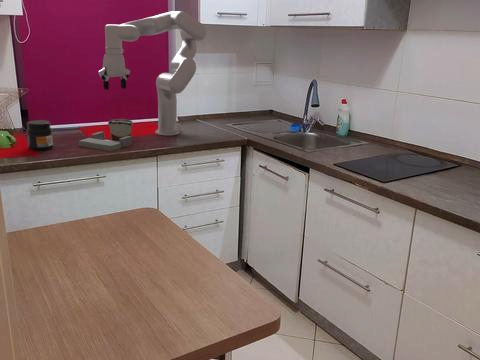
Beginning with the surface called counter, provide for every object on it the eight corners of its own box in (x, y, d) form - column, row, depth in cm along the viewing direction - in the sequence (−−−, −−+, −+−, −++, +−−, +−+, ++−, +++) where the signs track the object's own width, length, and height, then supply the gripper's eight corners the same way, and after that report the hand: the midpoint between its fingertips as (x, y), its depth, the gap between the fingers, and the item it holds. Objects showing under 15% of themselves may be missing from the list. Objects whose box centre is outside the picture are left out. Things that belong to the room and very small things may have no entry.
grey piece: (101, 139, 235) (101, 131, 234) (132, 144, 228) (131, 136, 227) (79, 145, 221) (78, 137, 220) (111, 151, 214) (110, 142, 213)
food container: (136, 139, 238) (136, 119, 235) (133, 142, 232) (132, 122, 229) (113, 137, 239) (112, 118, 236) (108, 140, 233) (107, 120, 230)
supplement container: (55, 149, 213) (53, 123, 209) (30, 152, 208) (27, 125, 204) (50, 144, 221) (48, 119, 218) (26, 146, 216) (23, 120, 212)
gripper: (124, 51, 232) (125, 87, 237) (93, 51, 219) (94, 89, 224) (134, 52, 227) (134, 88, 232) (102, 52, 214) (104, 90, 219)
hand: (115, 88), depth 228 cm, fingers open, 9 cm apart
